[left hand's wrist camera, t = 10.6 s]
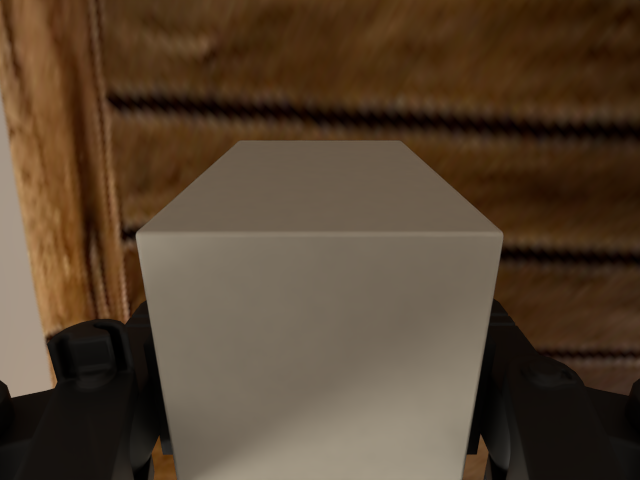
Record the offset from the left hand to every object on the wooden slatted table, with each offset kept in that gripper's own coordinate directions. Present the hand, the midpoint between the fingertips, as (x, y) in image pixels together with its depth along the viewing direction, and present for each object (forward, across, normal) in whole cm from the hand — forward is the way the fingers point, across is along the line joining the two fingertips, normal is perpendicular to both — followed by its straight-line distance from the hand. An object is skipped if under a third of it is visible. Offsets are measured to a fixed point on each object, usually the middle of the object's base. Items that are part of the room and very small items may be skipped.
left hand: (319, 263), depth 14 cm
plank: (0, 0, +9) cm, 9 cm away
